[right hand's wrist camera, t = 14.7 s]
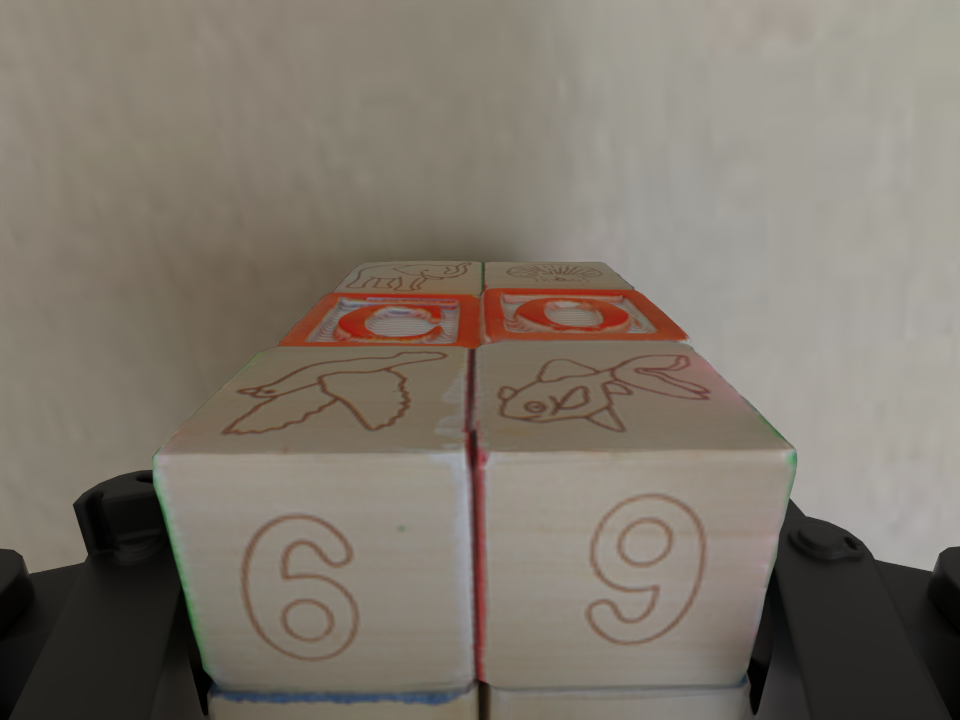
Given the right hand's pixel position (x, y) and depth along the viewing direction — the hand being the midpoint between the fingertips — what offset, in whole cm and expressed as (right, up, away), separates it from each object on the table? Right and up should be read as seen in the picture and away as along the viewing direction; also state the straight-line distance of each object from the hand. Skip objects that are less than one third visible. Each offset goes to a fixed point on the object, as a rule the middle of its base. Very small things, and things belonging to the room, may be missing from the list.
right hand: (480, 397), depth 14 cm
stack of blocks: (0, -7, +3) cm, 7 cm away
